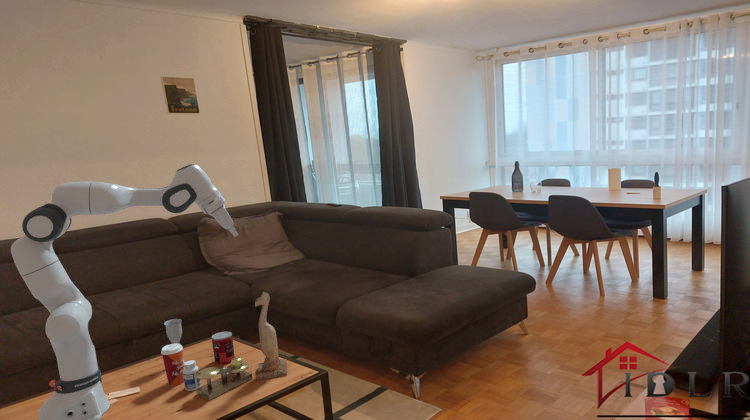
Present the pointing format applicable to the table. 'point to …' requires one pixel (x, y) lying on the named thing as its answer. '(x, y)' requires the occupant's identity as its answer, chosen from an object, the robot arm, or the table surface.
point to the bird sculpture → (268, 344)
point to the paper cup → (173, 363)
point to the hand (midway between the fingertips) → (235, 233)
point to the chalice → (174, 330)
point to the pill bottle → (191, 376)
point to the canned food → (223, 347)
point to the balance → (223, 378)
